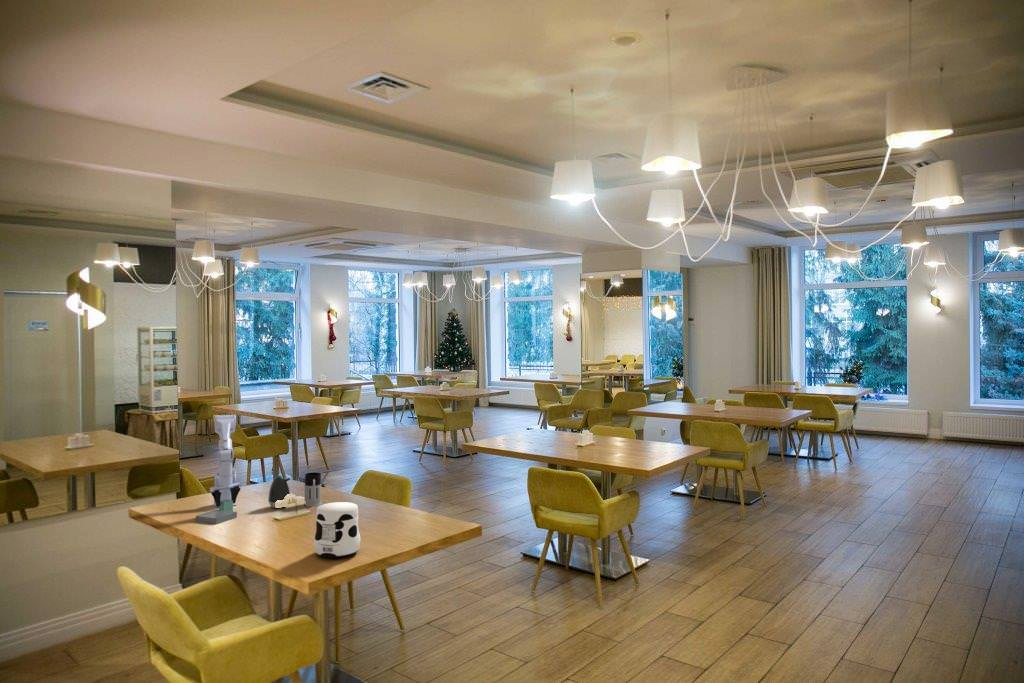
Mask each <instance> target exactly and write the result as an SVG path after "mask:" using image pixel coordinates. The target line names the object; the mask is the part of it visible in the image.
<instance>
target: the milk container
mask: <svg viewBox="0 0 1024 683" xmlns="http://www.w3.org/2000/svg"><path fill="white" fill-rule="evenodd" d="M315 515H316V516H315V517H316V520H315V526H316V528H315V535H314V537H313V539H314V540H313V548H314V552H315V554H316V555H318V556H320V557H323V558H330V559H331V558H332V559H337V558H344V557H349V556H351V555H354V554H355V553H357V552H358V551H359V549H360V547H361V542H362V541H361V533H360V531H359V506H358V504H356V503H354V502H349V501H347V502H346V501H340V502H339V501H338V502H328V503H324V504H323V503H322V505H319V506H317V508H316V513H315Z"/></svg>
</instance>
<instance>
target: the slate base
mask: <svg viewBox="0 0 1024 683" xmlns="http://www.w3.org/2000/svg"><path fill="white" fill-rule="evenodd" d="M237 518H238V512H237V511H234V510H233V511H225V510H219V509H213V510H211V511H207V512H204V513H201V514H197V515H195V522H199V523H205V524H212V525H218V524H221V523H224V522H227V521H230V520H231V521H232V520H233V519H237Z"/></svg>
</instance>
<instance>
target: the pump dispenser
mask: <svg viewBox="0 0 1024 683" xmlns="http://www.w3.org/2000/svg"><path fill="white" fill-rule="evenodd" d="M288 481H291V477H288V478H285V476H282V475H277V476H276V477H274V479H273V480H272V483H271V484H270V487H269V493H268V502H269V505H270V507H271V508H273V509H275V508H274V507H275V502H276V501H277V500H283V499H284V497H285V496H286V495H287V494H290V495H291V491H290V487H289V486H290V485H289V483H288Z"/></svg>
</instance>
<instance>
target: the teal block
mask: <svg viewBox="0 0 1024 683" xmlns="http://www.w3.org/2000/svg"><path fill="white" fill-rule="evenodd" d="M218 510H225V511H233V512H234V506H233V501H232V500H229V499H227V500H222V501H220V507H218Z"/></svg>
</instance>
